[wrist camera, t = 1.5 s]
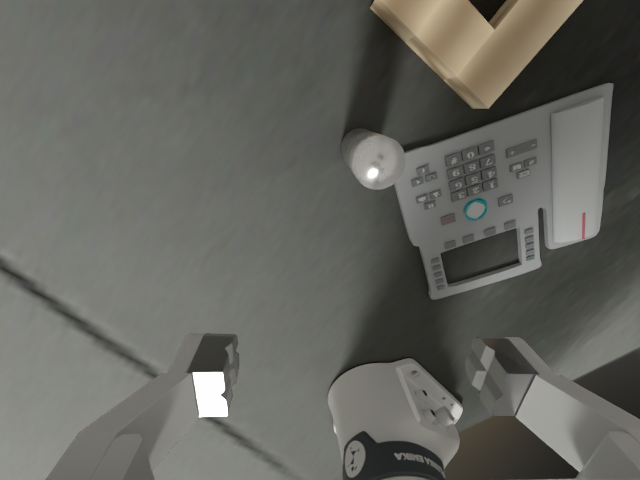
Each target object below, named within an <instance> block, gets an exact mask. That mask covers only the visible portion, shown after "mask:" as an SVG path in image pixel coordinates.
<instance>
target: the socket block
mask: <svg viewBox="0 0 640 480" xmlns="http://www.w3.org/2000/svg"><path fill="white" fill-rule="evenodd" d="M582 1H583V0H506V1H505V2H504V4H503V5H502V6H501V7H500V9H499V10H498V11H497V12H496V14H495V15H494V16H493V18H492V19H491V20H490V21H489V23H488V22H487V21H486V20H485V18H484V17H483V16H482V15H481V14H480V13H479V12H478V11H477V9H476V8H475V7H474V6H473V5H472V4H471V3H470V2H469V0H374V2H373V4H372V5H371V7H370V9H371V10H372V11H373V12H374V13H375V14H376V15H377V16H378V17H379V18H380V19H382V20H383V21H384V22H385V23H386V24H387V25H388V26H389V27H390V28H391V29H392V30H393V31H394V32H395V33H396V34H397V35H398V36H399V37H400V38H401V39H402V40H403V41H404V42H405V43H406V44H407V45H408V46H409V47H410V48H411V49H412V50H413V51H414V52H415V53H416V54H417V55H418V56H419V57H420V58H421V59H422V60H423V61H424V62H425V63H426V64H427V65H428V66H429V67H430V68H431V69H432V70H433V71H435V72H436V73H437V74H438V75H439V76H440V77H441V78H442V79H443V80H444V81H445V82H446V83H447V84H448V85H449V86H450V87H451V88H452V89H453V90H454V91H455V92H456V93H457V94H458V95H459V96H460V97H461V98H462V99H463V100H464V101H465V102H466V103H467V104H468V105H469V106H470V107H471V108H472V109H489V108H490V107H491V105H492V104H493V103H494V102H495V101H496V100H497V99H498V97H499V96H500V95H501V94H502V93H503V92H504V91H505V89H506V88H507V87H508V86H509V85H510V84H511V83H512V81H513V80H514V79H515V78H516V77H517V76H518V75H519V73H520V72H521V71H522V70H523V69H524V68H525V66H526V65H527V64H528V63H529V62H530V61H531V60H532V58H533V57H534V56H535V55H536V54H537V53H538V52H539V50H540V49H541V48H542V47H543V46H544V45H545V44H546V42H547V41H548V40H549V39H550V38H551V37H552V36H553V34H554V33H555V32H556V31H557V30H558V29H559V28H560V26H561V25H562V24H563V23H564V22H565V21H566V20H567V18H568V17H569V16H570V15H571V14H572V13H573V12H574V10H575V9H576V8H577V7H578V6H579V5H580V4H581V2H582Z"/></svg>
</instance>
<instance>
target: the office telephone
mask: <svg viewBox="0 0 640 480" xmlns="http://www.w3.org/2000/svg"><path fill="white" fill-rule="evenodd" d="M613 85H614V84H612V83H605V84H602V85H599V86H596V87H593V88H590V89H587V90H584V91H581V92H578V93H575V94H572V95H570V96H567V97H564V98H561V99H558V100H555V101H553V102H550V103H547V104H544V105H541V106H539V107H536V108H533V109H530V110H527V111H524V112H522V113H519V114H516V115H513V116H510V117H507V118H505V119H502V120H499V121H496V122H493V123H491V124H488V125H485V126H482V127H479V128H476V129H474V130H471V131H468V132H465V133H462V134H459V135H457V136H454V137H451V138H448V139H445V140H442V141H439V142H437V143H434V144H431V145H427V146H422V147H418V148H415V149H412V150H409V151H406V152H404V153H405V158H406V163H405V168H404V171H403V173H402V175H401V177H400V178H399V179H398V181H397V182H395V183H394V186H395V190H396V193H397V197H398V201H399V204H400V208H401V212H402V216H403V219H404V223H405V227H406V230H407V234H408V236H409V239H410V241H411V242H412V244H413V245H414V246H418V247H419V250H420V253H421V257H422V261H423V264H424V268H425V272H426V276H427V280H428V284H429V292H428V294H429V296H430V297H431V298H432V299H433V300H435V299H440V298H444V297H447V296H450V295H454V294H457V293H461V292H464V291H468V290H471V289H474V288H478V287H481V286H484V285H488V284H491V283H494V282H498V281H501V280H504V279H507V278H511V277H514V276H517V275H520V274H523V273H526V272H529V271H532V270H535V269H537V268H539V267H540V266H541V264H542V263H541V261H540V250H539V227H538V209H539V208H542V209H543V218H544V235H545V246H546V247H547V248H549V249H556V248H559V247H563V246H566V245H570V244H573V243H576V242H579V241H583V240H586V239H589V238H592V237H594V236H595V235H597V233H598V231H599V229H600V222H601V214H602V204H603V188H604V186H605V178H606V166H607V154H608V141H609V129H610V116H611V103H612V94H613ZM479 199H481V200H479ZM514 228H516V230H517V241H518V255H519V263H516V264H513V265H510V266H507V267H504V268H501V269H498V270H495V271H492V272H488V273H485V274H482V275H479V276H476V277H472V278H469V279H466V280H462V281H459V282H455V283H451V284H447V281H446V276H445V272H444V268H443V264H442V259H441V254H440V253H442V252H445V251H448V250H451V249H454V248H457V247H459V246H462V245H465V244H468V243H471V242H474V241H477V240H480V239H483V238H486V237H489V236H492V235H495V234H498V233H502V232H505V231H508V230H511V229H514Z"/></svg>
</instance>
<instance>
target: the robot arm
mask: <svg viewBox="0 0 640 480" xmlns="http://www.w3.org/2000/svg"><path fill="white" fill-rule="evenodd" d="M237 345H238V339H237V335H236V334H210V333H206V334H201V333H190V334H189V335H188V336H187V337H186V339H185V340H184V342H183V344H182V346H181V348H180V350H179V352H178V354H177V356H176V358H175V359H174V361H173V363H172V365H171V367H170V369H169V371H168V373H162V374H160V375H159V376H158V377H156V378H155V379H153V380H152V381H151V382H149V383H148V384H146V385H145V386H144V387H142V388H141V389H139V390H138V391H137V392H135V393H134V394H132V395H131V396H130V397H128V398H127V399H125V400H124V401H123V402H121V403H120V404H118V405H117V406H115V407H114V408H113V409H111V410H110V411H108V412H107V413H106V414H104V415H103V416H101V417H100V418H99V419H97V420H96V421H94V422H93V423H92V424H90V425H89V426H87V427H86V428H85V429H83V430H82V431H80V432H79V433H78V435H77V436H76V437H75V439H74V440H73V442H72V443H71V444H70V446H69V447H68V449H67V450H66V452H65V453H64V454H63V456H62V457H61V459H60V460H59V461H58V463H57V464H56V466H55V467H54V469H53V470H52V471H51V473H50V474H49V476H48V477H47V479H46V480H154V476H153V473H152V470H153V469H154V468H155V467H156V466H157V465H158V464H159V463H160V461H161V460H162V459H163V458H164V457H165V456H166V455H167V454H168V453H169V451H170V450H171V449H172V448H173V447H174V446H175V445H176V444H177V442H178V441H179V440H180V439H181V438H182V437H183V436H184V435H185V434H186V432H187V431H188V430H189V429H190V428H191V427H192V426H193V425H194V424H195V422H196V421H197V420H198V419H199V417H207V416H228V412H229V408H230V404H231V401H232V397H233V394H232V387H233V386H234V385H235V384H236V381H237V377H238V370H239V354H238V353H237V352H236V349H237ZM471 348H472V350H473V352H471V353H470V354H469V355H468V356H467V359H466V362H465V368H466V374H467V377H468V379H469V381H470V382H471V384H472V385H473V386H474V387H476V388H477V389H478V390H480V392H479V398H480V399H481V401H482V403H483V404H484V406H485V408H486V409H487V411H488V413H489V414H490V415H508V416H509V415H510V416H516V418H517V419H518V420H520V421H521V422H522V423H523V424H524V425H525V426H527V427H528V428H529V429H530V430H531V431H532V432H534V433H535V434H536V435H537V436H538V437H539V438H541V439H542V440H543V441H544V442H545V443H546V444H547V445H549V446H550V447H551V448H552V449H553V450H555V451H556V452H557V453H558V454H559V455H560V456H562V457H563V458H564V459H565V460H566V461H567V462H568V463H569V464H571V465H572V466H573V467H574V468H575V469H576V470H578V471H579V472H580V473H579V474H578V476H577V477H576V479H532V480H640V419H638V418H636V417H635V416H633V415H631V414H629V413H627V412H625V411H624V410H622V409H620V408H619V407H617V406H615V405H613V404H611V403H609V402H608V401H606V400H604V399H603V398H601V397H599V396H597V395H595V394H594V393H592V392H590V391H588V390H586V389H585V388H583V387H581V386H579V385H578V384H576V383H574V382H572V381H571V380H569V379H567V378H565V377H563V376H562V375H556V374H555V373H554V372H553V371H552V370H551V369H550V368H549V367H548V366H547V365H546V363H545V362H544V361H543V360H542V359H541V358H540V357H539V356H538V355H537V354H536V353H535V352H534V351H533V350H532V349H531V347H530V346H529V345H528V344H527V343H526V342H525V341H524V340H523V339H521V338H519V337H504V338H490V337H476V338H475V339H474V340H473V341H472V344H471ZM328 404H329V407H330V410H331V413H332V416H333V427H334V431H335V433H336V434H337V437H338V442H339V448H340V453H341V458H342V463H343V480H445V473H444V468H445V467H446V465H447V464H448V462H449V461H450V460H451V459H452V457H453V456H454V454H455V453H456V451H457V450H458V447H459V436H458V433H457V430H456V428H455V426H454V424H455V423H456V422H457V421H458V419H459V418H460V416H461V414H462V411H463V408H462V406H461V403H460V402H459V401H458V400H457V399H456V398H455V397H454V396H453V395H451V394H450V393H449V392H448V391H447V390H446V389H445V388H444V387H443V386H442V385H441V384H440V383H439V382H438V381H437V380H436V379H434V378H433V377H432V376H431V375H430V374H429V373H428V372H427V371H426V370H425V369H424V368H423V367H422V366H421V365H420V364H418V363H417V362H416V361H415V360H414V359H411V358H408V359H402V360H399V361H396V362H392V363H371V364H366V365H362V366H358V367H355V368H353V369H351V370H349V371H347V372H345V373H344V374H342V375H341V376H340V377H339V378H338V379H337V380H336V381H335V382H334V383H333V385H332V386H331V388H330V390H329V394H328ZM529 480H531V479H529Z"/></svg>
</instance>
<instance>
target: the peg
mask: <svg viewBox="0 0 640 480" xmlns="http://www.w3.org/2000/svg"><path fill="white" fill-rule="evenodd" d="M340 151H341V155H342V158H343V159H344V161H345V162H346V163H347V165H348V166H349V168H350V169H351V171H352V172H353V173H354V175H355V176H356V178H357V179H358V180H359V182H360V183H361V184H363V185H364V186H365V187H367V188H370V189H376V190H379V189H385V188H388V187H390V186H391V185H393V184H394V183H395V182H397V181H398V179H399V178H400V177H401V175H402V173H403V171H404V168H405V163H406V158H405V153H404V150H403V148H402V147H401V145H400V144H399V143H398V142H397V141H395V140H394V139H392V138H389V137H387V136H384V135H381V134H378V133H375V132H372V131H369V130H367V129H363V128H357V129H353V130H351V131H349V132H348V133H347V134H346V135H345V136H344V138H343V140H342V142H341V147H340Z"/></svg>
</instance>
